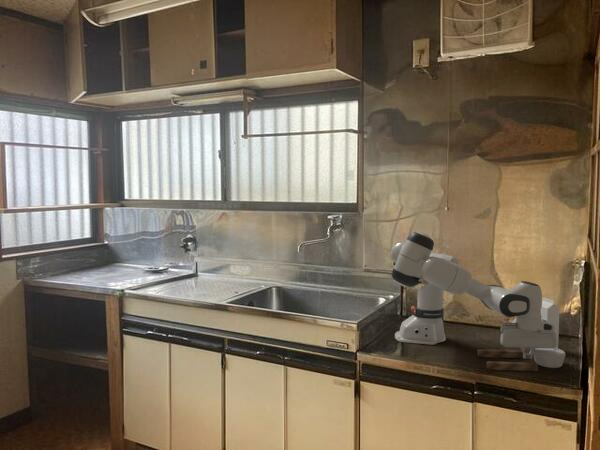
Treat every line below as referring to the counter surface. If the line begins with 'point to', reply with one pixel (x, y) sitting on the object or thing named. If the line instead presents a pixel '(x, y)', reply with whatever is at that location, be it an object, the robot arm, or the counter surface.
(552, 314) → the milk
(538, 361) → the ramekin
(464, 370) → the counter surface
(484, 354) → the parallel wooden rails
